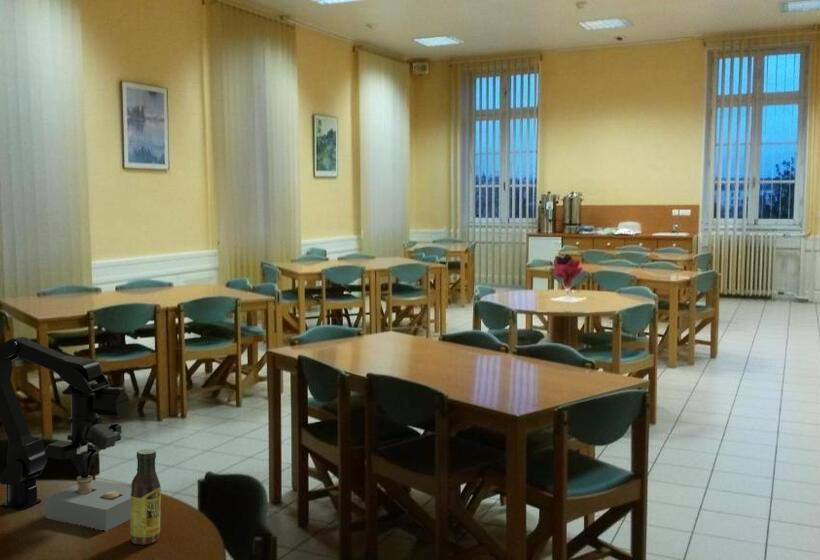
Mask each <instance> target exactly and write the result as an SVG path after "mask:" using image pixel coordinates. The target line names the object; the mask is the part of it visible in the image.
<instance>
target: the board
mask: <svg viewBox="0 0 820 560" xmlns="http://www.w3.org/2000/svg"><path fill="white" fill-rule="evenodd" d="M107 492H119V497H118V498H116V499H114V500H107V499H104V498H103V494H104V493H107ZM130 512H131V486H128V485H124V484H118V483H112V482H108V481H103V480H102V481H101V480H99V479H93V480H92V492H91V493H89V494H86V495H83V494H78V483H77V484H75V485H73V486H70V487H68V488H65V489H62V490H60V491H58V492H55V493H52V494H50V495H47V496H46V497H45V519H50V520H53V521H58V522H63V523H66V522H69V523H68V524H71V523H73V524H72V525H75V524H78V525H77V526H80V525H82V526H81V527H84V526H86V527H85V528H89V527H91V528H90V529H93V528H95V530H98V529H99V531H102V530H104V531H103V532H108V531H110V530H112V529H114V528H116V527H118V526H119V525H122V524H124V523H126V522H128V521H130ZM109 529H110V530H109Z"/></svg>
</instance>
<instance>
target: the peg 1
mask: <svg viewBox="0 0 820 560" xmlns="http://www.w3.org/2000/svg"><path fill="white" fill-rule="evenodd" d="M92 480H94V476H93V475H90V474H88V477H87V478H82V477H81V475H79V476H77V477H76V482H77V484H78V494H83V495H86V494H89V493H91V492H92Z"/></svg>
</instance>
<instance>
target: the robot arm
mask: <svg viewBox="0 0 820 560" xmlns="http://www.w3.org/2000/svg"><path fill="white" fill-rule="evenodd" d="M17 358H21V359H22V360H24V361H28V362H30V363H32V364H35V365H37V366H40V367H42V368H45V369H47V370H49V371H51V372H54V373H55V374H57V375H58V376H59V378H60V379H61V381H64V383H66V384H68V387H66V388H65V389H64V390H63V391H62V392H61V393H62V395H66V396H70V412H71V413H70V417H68V418H67V419H66V423H68V424H70V426H71V429H70V431H71V432H70V433H71V434H68V435H67V436H66V438H67V440H68V441H71V442H68V441H67V442H66V441H61V440H59V441H56V442H51V443H49V444H47V445H46V446H45V442H44V440H43V439H42V438H39V439H36V438H35V437H33V436H32V435H31V433H30V430H29V427H28V425H27V421H26V419H25V416H24V414H23V411H22V407H21V406H20V403H19V400H18V396H17V394H16V391H15V388H14V386H13V383H12V373H13V363H12V361H14V360H16V359H17ZM130 403H131V401H130V397H129V395H128V394H127V393H126V392H125V387H121V386H119V387H118V386H117V387H114V386H113V387H112V384H111V382H110V381H109V379H108V378H107V377H106V375H105V374H104V371H103V370H102V368H101V366H100V363H99V361H97V360H95V359H92V358H87V357H83V356H71V355H67V354H65V353H62V352H60V351H58V350H55V349H53V348H50V347H48V346H45V345H43V344H40V343H38V342H35V341H33V340H31V339H30V338H28V337H25V336H19V337H15V338H10V339H8V340H7V341H5V342H3V343H0V423H1V426H2V428H3V431H4V433H5V436H6V439H7V442H8V448H7V453H6V461H7V467H5V468H4V469H3V471H2V472H0V484H1V485H6V501H5V502H2V503H0V504H1V506H2V507H6V508H10V509H15V510H24V509H27V508H29V507H30V506H33V505H36V504H39V503H41V502H42V499H41V498H38V485H37V478H36V477H38V476H40V475H42V473H43V469H44V468H45V467H46V465H47V462H48V458H50V459H54V460H55V459H56V460H61V461H64V460H68V459H70V460H71V461H72V463H73V464H74V466H75V467H76V470H77V472H78V473H79V476H81V477H82V478H87V477H88V475H90V472H91V468H92V465H93V462H94V459H95V458H96V455H97V454H98V453H99V452H101V451H102V450H103V451H104V450H106V449H108V448H111V447H115V445H116V443H117V442H119V441H121V440H122V425H121V424H120V423H118V422H114V423H111V424H110V425H109V424H106V425H105V424H103V418H102V416H105V417H106V416H107V417H118V418H123V417H125V416H126V415H127V414H128V411H129V409H130Z"/></svg>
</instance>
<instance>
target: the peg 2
mask: <svg viewBox="0 0 820 560" xmlns="http://www.w3.org/2000/svg"><path fill="white" fill-rule="evenodd" d="M118 497H119V492H107V493H104V494H103V498H104V499H107V500H114V499H116V498H118Z"/></svg>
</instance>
